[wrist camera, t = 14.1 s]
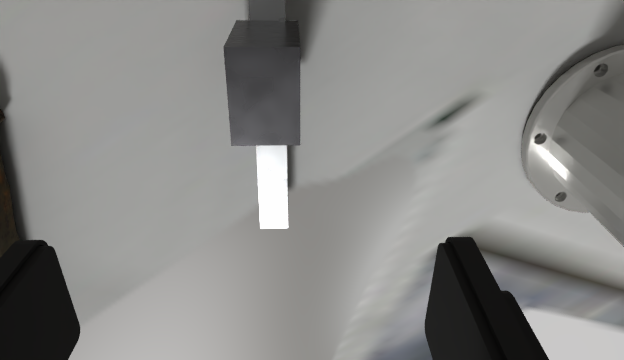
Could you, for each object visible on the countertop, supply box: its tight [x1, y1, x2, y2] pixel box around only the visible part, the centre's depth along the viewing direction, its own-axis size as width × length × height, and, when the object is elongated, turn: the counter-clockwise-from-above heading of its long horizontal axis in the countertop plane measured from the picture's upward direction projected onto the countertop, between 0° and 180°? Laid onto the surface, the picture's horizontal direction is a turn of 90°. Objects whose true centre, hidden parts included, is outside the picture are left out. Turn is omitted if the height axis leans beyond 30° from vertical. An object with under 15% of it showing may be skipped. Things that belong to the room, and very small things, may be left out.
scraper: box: [224, 0, 300, 228], centre depth 26 cm, size 4×24×8 cm, turn 179°
